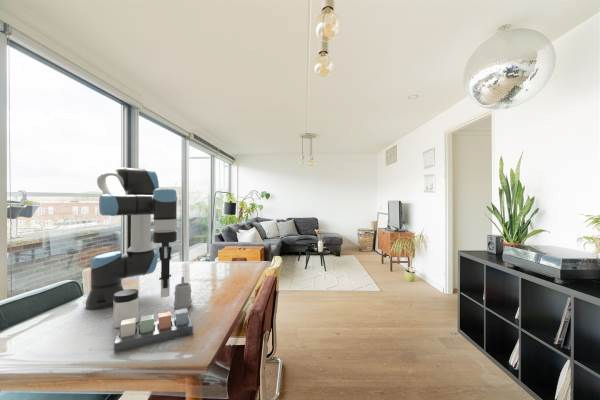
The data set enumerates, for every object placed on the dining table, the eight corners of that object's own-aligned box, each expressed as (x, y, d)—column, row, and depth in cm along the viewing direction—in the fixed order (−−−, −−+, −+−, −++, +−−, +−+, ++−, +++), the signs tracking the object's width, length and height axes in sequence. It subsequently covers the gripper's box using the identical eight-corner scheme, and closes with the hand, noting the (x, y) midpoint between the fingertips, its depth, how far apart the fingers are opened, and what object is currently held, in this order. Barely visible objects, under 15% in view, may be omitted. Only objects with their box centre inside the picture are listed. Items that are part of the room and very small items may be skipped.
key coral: (158, 325, 93) (158, 313, 93) (170, 323, 95) (170, 311, 95) (158, 330, 90) (158, 317, 90) (171, 327, 91) (171, 315, 92)
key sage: (140, 329, 90) (140, 316, 90) (153, 326, 92) (153, 314, 92) (140, 334, 87) (140, 321, 87) (153, 331, 89) (153, 318, 89)
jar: (107, 329, 96) (108, 297, 96) (118, 319, 104) (118, 289, 104) (134, 326, 98) (134, 295, 98) (142, 317, 106) (142, 288, 106)
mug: (173, 311, 111) (173, 283, 112) (173, 301, 122) (173, 276, 122) (192, 307, 115) (192, 281, 115) (191, 299, 125) (191, 274, 126)
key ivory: (122, 333, 88) (122, 320, 88) (135, 330, 90) (135, 317, 90) (120, 338, 84) (120, 325, 84) (134, 335, 86) (135, 322, 86)
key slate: (175, 322, 96) (175, 310, 96) (186, 319, 98) (186, 308, 98) (175, 326, 92) (175, 314, 92) (187, 324, 94) (187, 312, 94)
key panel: (118, 336, 90) (119, 328, 90) (189, 321, 101) (189, 314, 101) (114, 352, 80) (114, 343, 80) (192, 334, 92) (192, 326, 92)
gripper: (153, 230, 96) (153, 292, 96) (153, 233, 85) (153, 304, 85) (175, 229, 100) (175, 289, 100) (177, 232, 89) (177, 300, 88)
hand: (165, 296), depth 92 cm, fingers closed
